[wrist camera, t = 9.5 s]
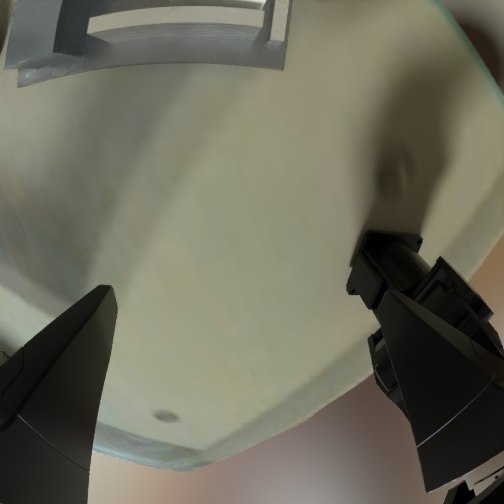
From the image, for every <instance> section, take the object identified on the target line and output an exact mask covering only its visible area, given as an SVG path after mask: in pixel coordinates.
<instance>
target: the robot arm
mask: <svg viewBox="0 0 504 504" xmlns="http://www.w3.org/2000/svg"><path fill="white" fill-rule="evenodd" d="M371 235H372V237H371V238H369V237H370V236H371ZM422 242H423V239H422V237H421V236H419V235H413V234H404V233H394V232H384V231H374V230H370V231H368V232H367V233H366V234H365V236H364V240H363V243H362V246H361V249H360V252H359V254H358V256H357V259H356V262H355V265H354V268H353V270H352V273H351V276H350V281H349V283H348V286H347V289H346V290H347V292H348V294H349V295H360V297H361V298H362V300H363V302H364V303H365V305H366V307H367V308H368V309H369V310H372V311H373V313H374V315H375V316H376V318H377V320H378V322H379V323H380V325H381V327H380V328H379V329H378V330H377V331H376V332H375V333H374V334H372V335H371V336H370V337H369V338H368V344H369V349H370V354H371V359H372V365H373V370H374V375H375V379H376V383H377V384H378V385H379V387H380V388H381V390H382V391H383V392H384V393H385V394H386V395H387V397H388V398H389V399H390V400H392V401H393V402H394V403H395V404H396V405H397V406H398V407H399V408H400V409H401V410H402V411H403V413H404V414H405V416H406V417H407V418H408V420H409V422H410V424H411V428H412V432H413V435H414V439H415V443H416V446H417V452H418V456H419V460H420V466H421V470H422V475H423V480H424V485H425V490H426V493H429V492H431V491H434V490H436V489H438V488H440V487H442V486H444V485H446V484H448V483H451V482H452V481H454V480H456V479H458V478H460V477H462V476H464V478H465V480H463V481H462V482H460V483H459V484H457V485H456V486H454V487H453V488H451V489H450V490H448V493H447V496H446V498H445V501H444V503H443V504H504V349H503V346H502V343H501V340H500V338H499V335H498V333H497V331H496V330H495V329H494V327H493V326H492V325H491V324H490V323H489V320H490V318H491V317H492V316H493V315H494V313H493V312H492V310H491V309H490V308H489V306H488V305H487V304H486V303H485V301H484V300H483V299H482V298H481V296H480V295H479V294H478V293H477V292H476V291H475V290H474V288H473V287H472V286H471V285H470V284H469V283H468V282H467V281H466V280H465V279H464V278H463V277H462V276H461V275H460V274H459V273H458V272H457V271H456V270H455V269H454V268H453V267H452V266H451V265H450V264H449V263H448V262H446V261H445V260H444V259H443V258H442V257H441V256H440V257H439V258H438V259H437V260H436V264H435V265H434V266H433V268H431V267H430V266H429V265H428V264H427V263H426V262H425V261H424V260H423V258H422V257H421V256H420V255H419V254H418V252H419V249H420V247H421V244H422ZM352 289H353V290H352ZM117 313H118V307H117V302H116V298H115V294H114V290H113V287H112V286H111V285H99V286H97V287H96V288H94V289H93V290H92V291H90V292H89V293H88V294H86V295H85V296H84V297H83V298H81V299H80V300H79V301H77V302H76V303H75V304H74V305H72V306H71V307H70V308H68V309H67V310H66V311H65V312H63V313H62V314H61V315H60V316H58V317H57V318H56V319H55V320H53V321H52V322H51V323H50V324H49V325H47V326H46V327H45V328H44V329H43V330H41V331H40V332H39V333H38V334H37V335H35V336H34V337H33V338H32V339H31V340H29V341H28V342H27V343H26V344H25V345H24V347H21V348H20V349H19V350H18V351H17V352H16V353H14V354H13V355H12V356H11V357H10V358H9V359H7V360H6V361H5V362H4V363H3V364H1V365H0V504H87V501H88V485H89V471H90V463H91V455H92V447H93V440H94V434H95V427H96V421H97V416H98V410H99V405H100V400H101V395H102V391H103V386H104V381H105V377H106V373H107V369H108V364H109V360H110V356H111V350H112V344H113V337H114V330H115V324H116V318H117Z"/></svg>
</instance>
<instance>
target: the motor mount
mask: <svg viewBox="0 0 504 504" xmlns="http://www.w3.org/2000/svg"><path fill="white" fill-rule="evenodd" d="M292 2H293V0H266V2H265V4H264V6H263V8H262V10H254V9H246V8H234V7H219V6H173V7H172V6H171V4H170V2H169V1H168V0H18V1H17V2H16V3H15V4H14V7H13V10H12V15H13V21H12V25H11V30H10V35H9V41H8V47H7V53H6V61H5V70H6V69H19V71H18V83H17V88H19V87H25V86H28V85H31V84H35V83H38V82H42V81H45V80H49V79H53V78H57V77H62V76H66V75H71V74H76V73H81V72H86V71H92V70H98V69H105V68H112V67H120V66H130V65H142V64H158V63H212V64H229V65H241V66H251V67H259V68H267V69H274V70H280V71H281V70H284V64H285V56H286V49H287V41H288V33H289V25H290V17H291V10H292Z"/></svg>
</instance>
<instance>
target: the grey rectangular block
mask: <svg viewBox="0 0 504 504" xmlns="http://www.w3.org/2000/svg"><path fill="white" fill-rule="evenodd" d="M168 1H169V2H170V4H171V6H172V7H173V6H219V7H234V8H246V9H254V10H262V8H263V6H264V4H265V2H266V0H168Z"/></svg>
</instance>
